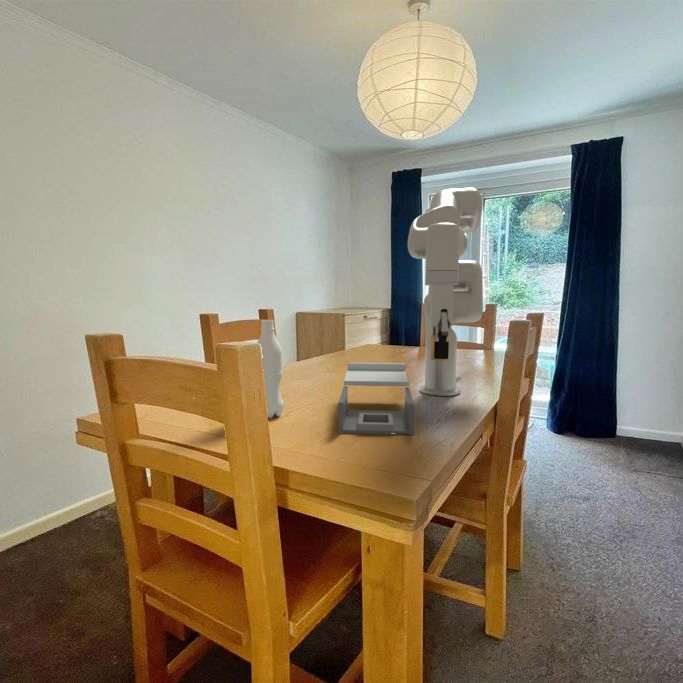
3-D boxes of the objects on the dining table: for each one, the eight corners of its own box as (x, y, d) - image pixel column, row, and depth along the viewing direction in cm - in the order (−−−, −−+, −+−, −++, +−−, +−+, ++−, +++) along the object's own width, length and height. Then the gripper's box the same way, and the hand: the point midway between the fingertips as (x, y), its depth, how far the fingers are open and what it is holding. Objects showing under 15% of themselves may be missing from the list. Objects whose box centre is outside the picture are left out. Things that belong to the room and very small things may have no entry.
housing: (343, 412, 109) (343, 386, 108) (408, 414, 107) (408, 387, 106) (338, 432, 94) (338, 402, 93) (413, 434, 93) (413, 404, 92)
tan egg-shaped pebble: (436, 356, 101) (437, 334, 100) (452, 358, 97) (453, 335, 97) (426, 358, 98) (426, 336, 97) (442, 361, 94) (443, 337, 94)
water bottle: (285, 410, 111) (283, 318, 107) (282, 419, 104) (279, 321, 100) (258, 411, 111) (255, 319, 107) (254, 419, 104) (250, 321, 100)
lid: (347, 373, 123) (347, 362, 122) (405, 373, 121) (405, 363, 121) (343, 385, 108) (343, 373, 107) (408, 386, 106) (409, 374, 106)
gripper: (421, 279, 103) (419, 350, 106) (429, 279, 87) (427, 363, 89) (451, 279, 103) (449, 350, 105) (465, 278, 86) (462, 364, 89)
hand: (439, 355), depth 97 cm, fingers closed on tan egg-shaped pebble, 4 cm apart
